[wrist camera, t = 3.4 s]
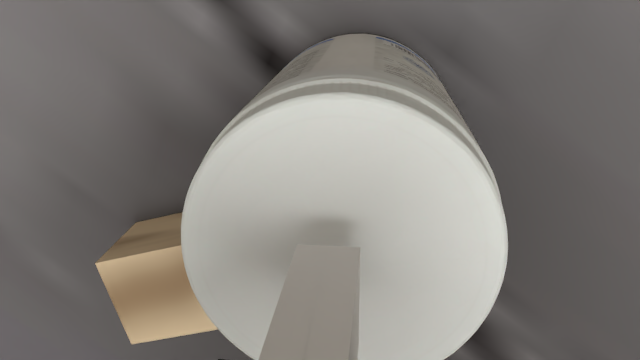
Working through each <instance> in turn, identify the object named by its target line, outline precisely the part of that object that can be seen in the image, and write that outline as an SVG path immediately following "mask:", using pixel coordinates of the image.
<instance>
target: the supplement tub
mask: <svg viewBox="0 0 640 360" xmlns="http://www.w3.org/2000/svg"><path fill="white" fill-rule="evenodd" d="M297 244H300V245H323V246H346V247H360V296H359V347H358V359H357V360H444V359H446V358H447V357H448V356H450V355H451V354H453V353H454V352H455V351H456V350H458V349H459V348H460V347H461V346H462V345H463V344H464V343H465V342H466V341H468V340H469V339H470V338H471V336H472V335H473V334H474V333H475V332H476V331H477V329H478V328H479V327H480V326H481V324H482V323H483V321H484V320H485V319H486V317H487V315H488V314H489V312H490V310H491V308H492V306H493V304H494V302H495V300H496V298H497V296H498V294H499V291H500V288H501V285H502V282H503V279H504V274H505V270H506V265H507V255H508V234H507V226H506V219H505V215H504V211H503V207H502V202H501V197H500V192H499V189H498V185H497V182H496V179H495V176H494V174H493V171H492V169H491V167H490V165H489V163H488V161H487V159H486V158H485V156H484V154H483V152H482V151H481V149H480V147H479V145H478V143H477V141H476V140H475V138H474V136H473V135H472V133H471V131H470V130H469V128H468V126H467V125H466V123H465V121H464V120H463V118H462V116H461V115H460V113H459V111H458V109H457V108H456V106H455V105H454V103H453V101H452V100H451V98H450V96H449V95H448V93H447V92H446V90H445V88H444V86H443V85H442V83H441V81H440V80H439V78H438V76H437V75H436V73H435V72H434V70H433V69H432V68H431V66H430V65H429V64H428V63H427V62H426V61H425V60H424V59H422V58H421V57H420V56H419V55H418V54H416V53H415V52H414V51H412V50H411V49H410V48H408V47H406V46H404V45H403V44H401V43H398V42H396V41H394V40H391V39H388V38H385V37H381V36H377V35H371V34H347V35H341V36H336V37H333V38H330V39H326V40H324V41H321V42H319V43H317V44H315V45H313V46H311V47H309V48H308V49H306V50H305V51H303V52H302V53H300V54H299V55H298V56H296V57H295V58H294V59H293V60H292V61H291V62H290V63H289V64H288V65H287V66H285V67H284V68H283V69H282V70H281V71H280V72H279V73H278V74H277V75H276V76H275V77H274V78H273V79H272V80H271V81H270V82H269V83H268V84H267V85H266V86H265V87H264V88H263V89H262V90H261V91H260V92H259V93H258V94H257V95H256V96H255V97H254V98H253V99H252V100H251V101H250V102H249V103H248V104H247V105H246V106H245V107H244V108H243V109H242V110H241V111H240V112H239V113H238V114H237V115H236V116H235V117H234V118H233V119H232V120H231V121H230V122H229V124H228V125H227V126H226V127H225V128H224V129H223V130H222V132H221V133H220V134H219V135H218V137H217V138H216V139H215V141H214V142H213V143H212V145H211V147H210V148H209V150H208V152H207V153H206V155H205V157H204V159H203V161H202V163H201V165H200V166H199V168H198V170H197V172H196V174H195V176H194V178H193V180H192V182H191V184H190V187H189V190H188V192H187V195H186V199H185V204H184V208H183V212H182V221H181V248H182V255H183V261H184V266H185V270H186V273H187V277H188V279H189V282H190V285H191V288H192V290H193V292H194V294H195V296H196V298H197V300H198V302H199V303H200V305H201V307H202V308H203V310H204V312H205V313H206V314H207V316H208V317H209V319H210V320H211V321H212V323H213V324H214V325H215V326H216V327H217V328H218V329H219V331H220V332H221V333H222V334H223V335H224V336H225V337H226V338H227V339H228V340H229V341H230V342H231V343H233V344H234V345H235V346H236V347H237V348H239V349H240V350H241V351H242V352H244V353H245V354H246V355H248V356H249V357H251V358H252V359H254V360H259V357H260V354H261V351H262V348H263V345H264V342H265V339H266V336H267V333H268V330H269V327H270V324H271V321H272V318H273V315H274V312H275V309H276V306H277V303H278V300H279V297H280V294H281V291H282V288H283V285H284V282H285V279H286V276H287V273H288V270H289V267H290V264H291V261H292V258H293V255H294V252H295V249H296V246H297Z"/></svg>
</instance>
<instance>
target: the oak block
mask: <svg viewBox="0 0 640 360" xmlns="http://www.w3.org/2000/svg"><path fill="white" fill-rule="evenodd" d="M181 221H182V212H181V213H177V214H172V215H168V216H163V217H159V218H154V219H150V220H145V221H141V222H136V223H135V224H134V225H133V226H132V227H131V228H130V229H129V230H128V231H127V232H126V233H125V234H124V235H123V236H122V237H121V238H120V239H119V240H118V241H117V242H116V243H115V244H114V245H113V246H112V247H111V248H110V249H109V250H108V251H107V252H106V253H105V254H104V255H103V256H102V257H101V258H100V259H99V260H98V261H97V262H96V263H95V264H96V267H97V269H98V271H99V273H100V275H101V278H102V280H103V282H104V284H105V287H106V289H107V291H108V293H109V295H110V298H111V300H112V302H113V304H114V306H115V309H116V311H117V313H118V315H119V318H120V320H121V322H122V324H123V326H124V329H125V331H126V333H127V335H128V338H129V340H130V342H131V344H137V343H142V342H148V341H154V340H160V339H166V338H171V337H177V336H183V335H189V334H195V333H200V332H206V331H212V330H218V328H217V327H216V326H215V325H214V324H213V323H212V321H211V320H210V319H209V317H208V316H207V314H206V313H205V312H204V310H203V308H202V307H201V305H200V303H199V302H198V300H197V298H196V296H195V294H194V292H193V290H192V288H191V285H190V282H189V279H188V277H187V273H186V270H185V266H184V261H183V255H182V248H181Z"/></svg>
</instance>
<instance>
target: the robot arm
mask: <svg viewBox="0 0 640 360" xmlns="http://www.w3.org/2000/svg"><path fill="white" fill-rule="evenodd" d="M359 296H360V247H346V246H323V245H300V244H297V246H296V249H295V252H294V255H293V258H292V261H291V264H290V267H289V270H288V273H287V276H286V279H285V282H284V285H283V288H282V291H281V294H280V297H279V300H278V303H277V306H276V309H275V312H274V315H273V318H272V321H271V324H270V327H269V330H268V333H267V336H266V339H265V342H264V345H263V348H262V351H261V354H260V357H259V360H357V359H358V347H359ZM218 360H224V359H218Z"/></svg>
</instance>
